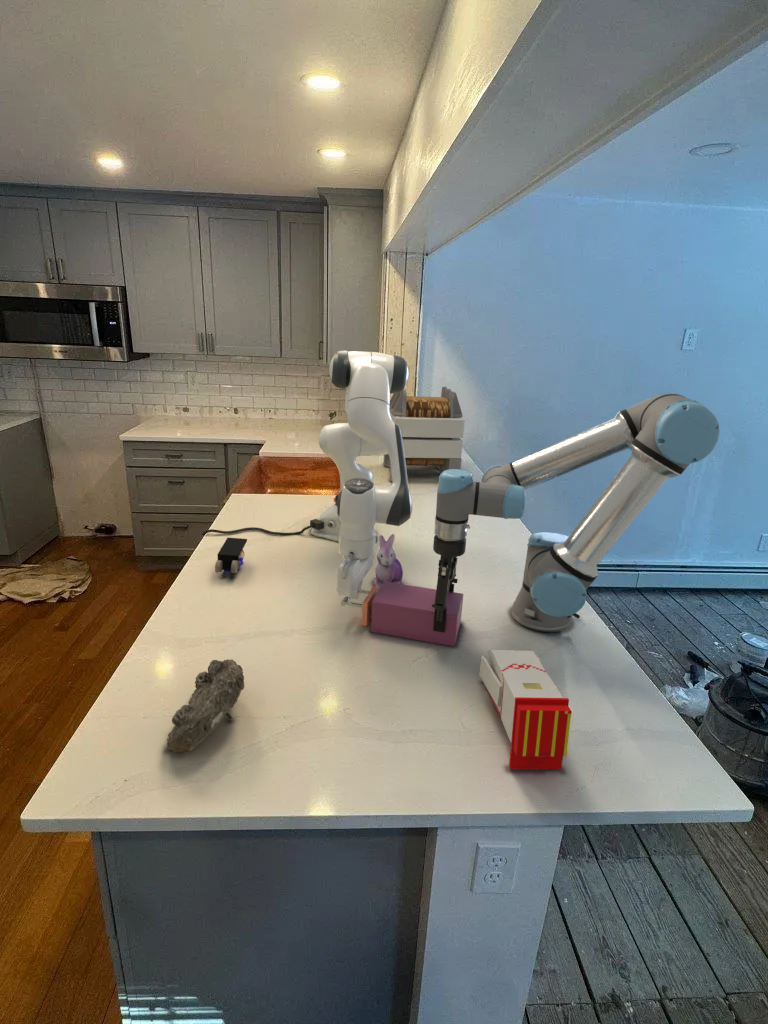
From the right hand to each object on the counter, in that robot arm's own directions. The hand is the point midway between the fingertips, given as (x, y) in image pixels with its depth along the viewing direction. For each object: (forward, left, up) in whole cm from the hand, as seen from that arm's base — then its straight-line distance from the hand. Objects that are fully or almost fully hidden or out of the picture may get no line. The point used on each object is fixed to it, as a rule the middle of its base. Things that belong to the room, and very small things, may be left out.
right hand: (443, 618), depth 139 cm
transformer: (-33, -139, -4) cm, 143 cm away
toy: (-5, +32, -4) cm, 33 cm away
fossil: (+53, +23, -4) cm, 58 cm away
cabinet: (+6, -3, -4) cm, 7 cm away
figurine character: (+52, -42, -4) cm, 66 cm away
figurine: (+8, -27, -4) cm, 28 cm away
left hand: (+20, -10, +2) cm, 23 cm away
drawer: (+11, -6, -3) cm, 13 cm away
